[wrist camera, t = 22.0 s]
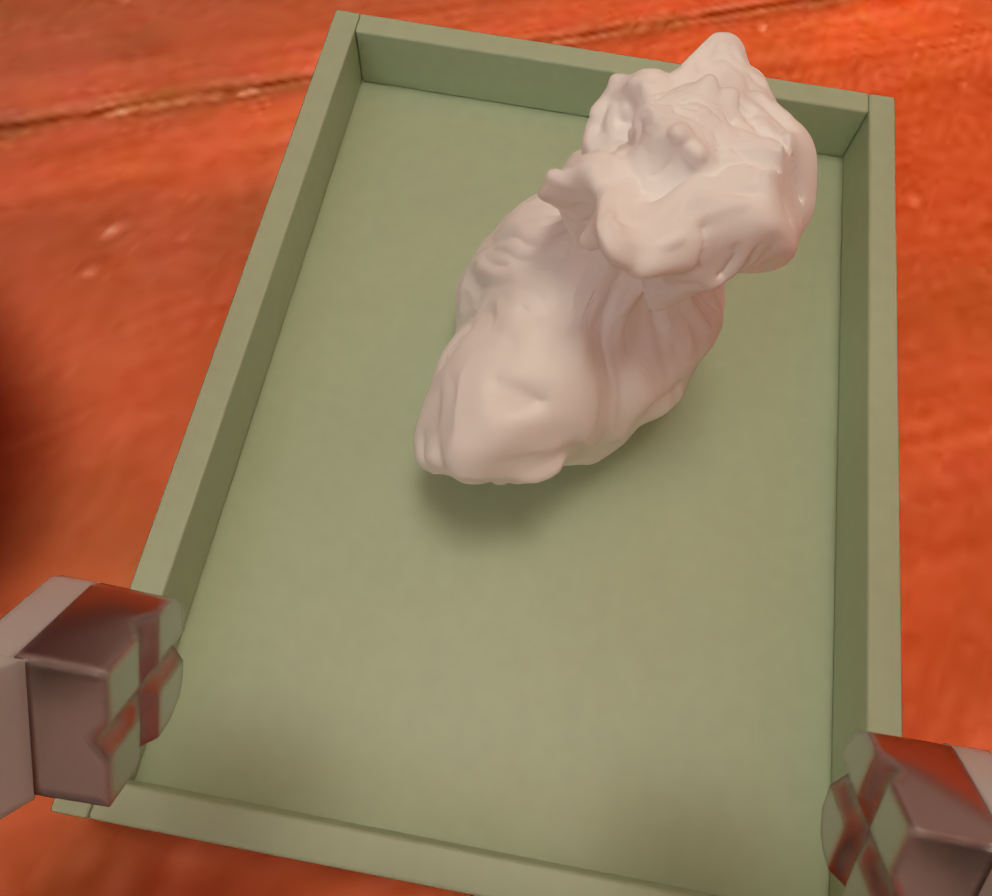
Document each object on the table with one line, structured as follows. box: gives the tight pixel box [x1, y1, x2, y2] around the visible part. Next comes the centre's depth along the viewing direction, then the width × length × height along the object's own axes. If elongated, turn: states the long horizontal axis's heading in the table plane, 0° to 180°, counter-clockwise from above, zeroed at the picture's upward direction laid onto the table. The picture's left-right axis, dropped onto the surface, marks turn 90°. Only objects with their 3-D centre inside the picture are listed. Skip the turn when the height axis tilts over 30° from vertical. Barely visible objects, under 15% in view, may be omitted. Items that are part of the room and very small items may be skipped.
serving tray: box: [51, 10, 902, 896], centre depth 23 cm, size 18×24×3 cm
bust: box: [413, 32, 817, 485], centre depth 20 cm, size 12×8×11 cm
